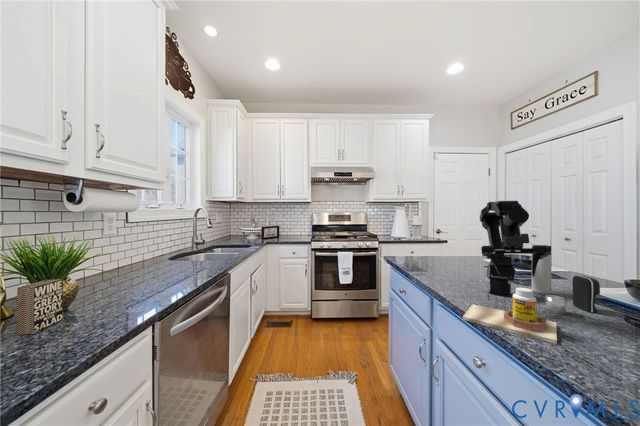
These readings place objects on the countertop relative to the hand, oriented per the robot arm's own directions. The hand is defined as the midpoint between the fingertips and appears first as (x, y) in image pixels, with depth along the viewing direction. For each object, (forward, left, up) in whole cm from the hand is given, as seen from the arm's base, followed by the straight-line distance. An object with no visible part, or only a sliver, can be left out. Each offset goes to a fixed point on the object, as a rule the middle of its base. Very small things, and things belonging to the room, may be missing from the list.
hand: (516, 275), depth 86 cm
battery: (+18, +19, -13) cm, 29 cm away
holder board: (-1, -12, -13) cm, 17 cm away
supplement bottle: (+3, -12, -12) cm, 17 cm away
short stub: (+10, +9, -13) cm, 18 cm away
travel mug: (+6, +31, -13) cm, 34 cm away
